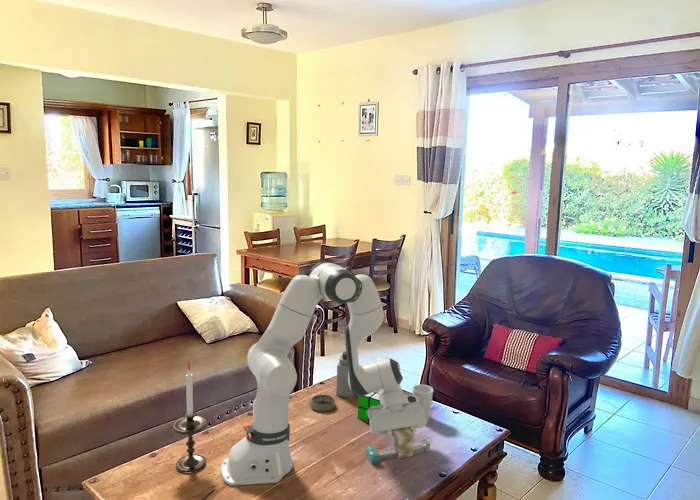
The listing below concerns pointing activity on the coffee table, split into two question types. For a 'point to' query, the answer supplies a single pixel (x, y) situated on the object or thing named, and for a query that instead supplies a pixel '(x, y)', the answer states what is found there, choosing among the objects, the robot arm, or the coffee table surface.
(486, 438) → the coffee table surface
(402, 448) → the beige slider block
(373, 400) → the puzzle cube
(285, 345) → the robot arm
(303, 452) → the coffee table surface
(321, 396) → the decorative ring
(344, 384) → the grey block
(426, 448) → the rail
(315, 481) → the coffee table surface
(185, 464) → the candlestick
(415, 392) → the cup
